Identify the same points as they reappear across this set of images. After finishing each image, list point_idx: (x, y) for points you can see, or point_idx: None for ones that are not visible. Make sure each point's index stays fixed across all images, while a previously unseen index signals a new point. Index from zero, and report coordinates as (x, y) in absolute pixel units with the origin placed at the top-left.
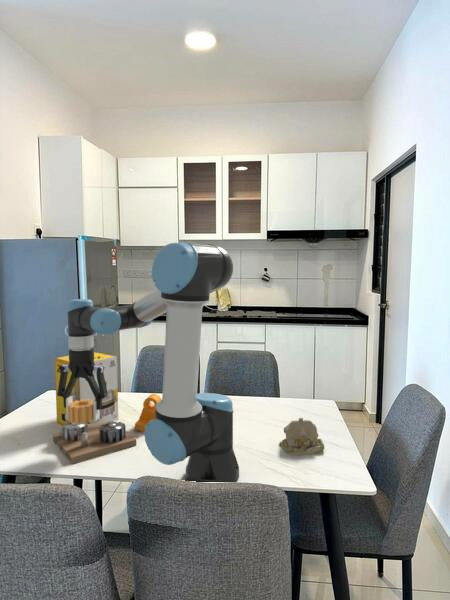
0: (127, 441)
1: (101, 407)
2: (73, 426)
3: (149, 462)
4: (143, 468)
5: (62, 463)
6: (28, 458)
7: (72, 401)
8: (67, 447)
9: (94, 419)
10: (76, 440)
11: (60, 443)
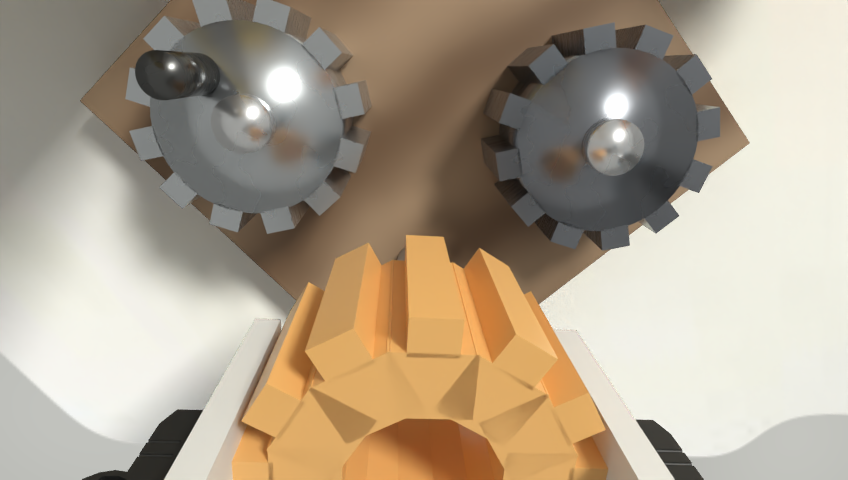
0: None
1: (660, 433)
2: (257, 166)
3: (809, 337)
4: (780, 392)
5: None
6: (132, 343)
7: (229, 436)
8: None
9: None
10: None
11: (236, 241)
